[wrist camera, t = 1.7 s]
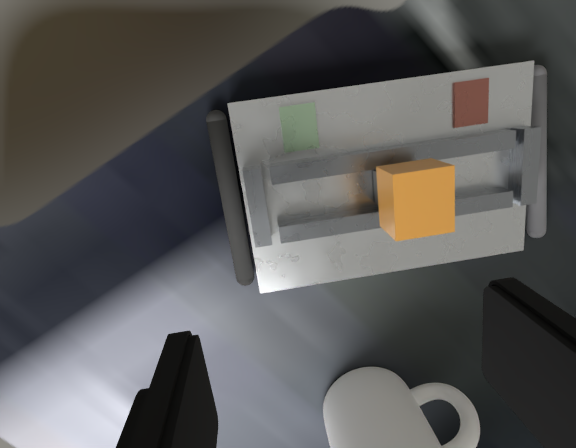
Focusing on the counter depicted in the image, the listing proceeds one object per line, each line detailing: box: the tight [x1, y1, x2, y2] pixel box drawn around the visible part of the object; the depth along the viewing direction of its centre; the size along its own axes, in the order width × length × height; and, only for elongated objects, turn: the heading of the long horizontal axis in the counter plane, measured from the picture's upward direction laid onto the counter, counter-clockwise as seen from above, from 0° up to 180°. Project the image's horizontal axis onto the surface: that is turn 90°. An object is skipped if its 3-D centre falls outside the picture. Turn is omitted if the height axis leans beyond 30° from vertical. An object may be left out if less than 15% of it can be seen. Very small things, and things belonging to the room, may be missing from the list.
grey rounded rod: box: [526, 65, 547, 238], centre depth 30 cm, size 13×1×1 cm, turn 12°
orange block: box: [373, 158, 455, 241], centre depth 25 cm, size 4×4×6 cm
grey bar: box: [206, 110, 254, 286], centre depth 29 cm, size 13×1×1 cm, turn 8°
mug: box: [323, 367, 480, 448], centre depth 31 cm, size 12×8×10 cm
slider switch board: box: [227, 61, 542, 293], centre depth 28 cm, size 14×21×4 cm, turn 98°
